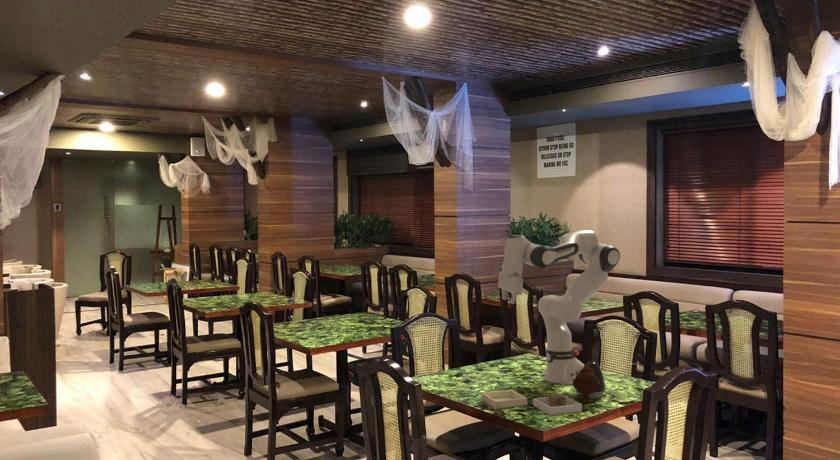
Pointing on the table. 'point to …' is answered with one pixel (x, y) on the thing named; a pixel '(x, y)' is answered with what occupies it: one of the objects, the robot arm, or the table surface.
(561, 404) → the walnut block
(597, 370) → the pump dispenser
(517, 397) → the cream bin
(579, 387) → the ice cream bowl
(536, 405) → the grey bin
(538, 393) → the table surface
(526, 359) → the table surface
